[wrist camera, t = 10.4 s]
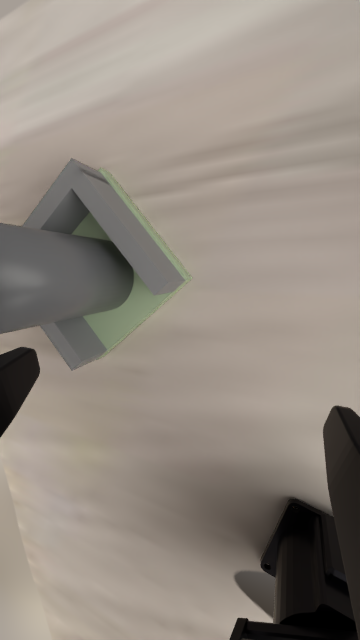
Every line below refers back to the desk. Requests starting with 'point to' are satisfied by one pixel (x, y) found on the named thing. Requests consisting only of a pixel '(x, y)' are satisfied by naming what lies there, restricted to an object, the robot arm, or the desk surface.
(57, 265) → the gray capsule
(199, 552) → the desk surface
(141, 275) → the tray
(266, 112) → the desk surface
